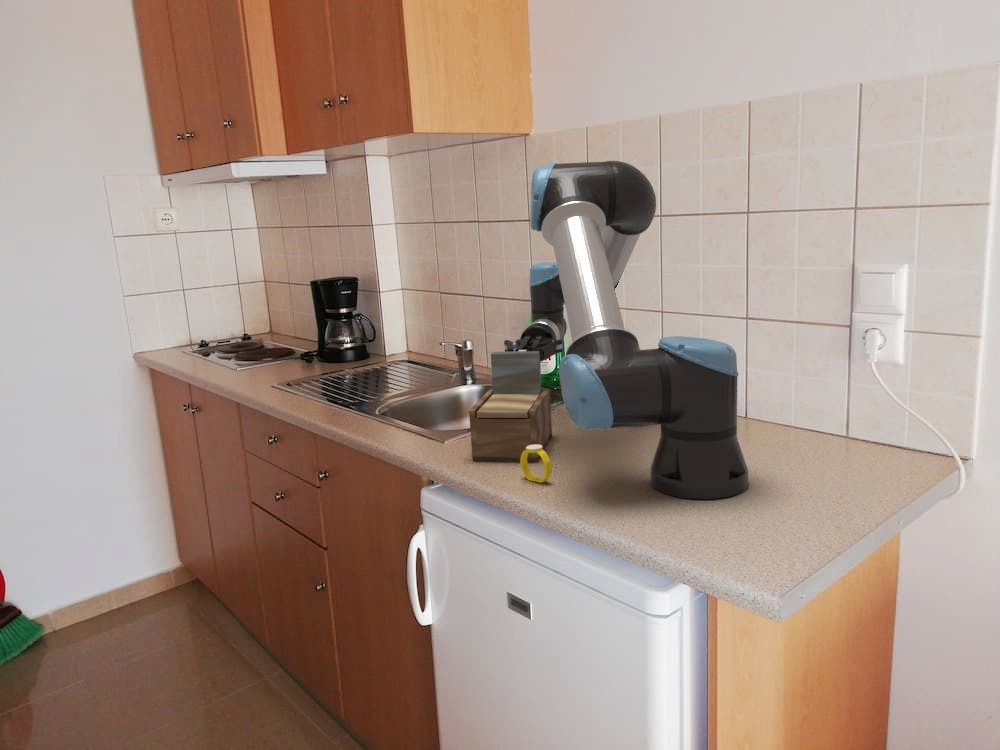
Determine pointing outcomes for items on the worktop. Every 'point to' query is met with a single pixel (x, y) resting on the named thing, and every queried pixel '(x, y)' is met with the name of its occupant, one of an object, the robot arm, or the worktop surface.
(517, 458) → the walnut box
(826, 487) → the worktop surface
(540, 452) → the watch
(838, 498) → the worktop surface
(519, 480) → the worktop surface
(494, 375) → the lid
